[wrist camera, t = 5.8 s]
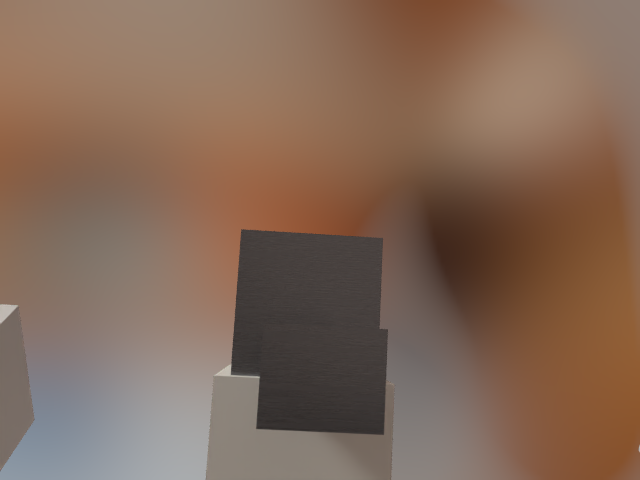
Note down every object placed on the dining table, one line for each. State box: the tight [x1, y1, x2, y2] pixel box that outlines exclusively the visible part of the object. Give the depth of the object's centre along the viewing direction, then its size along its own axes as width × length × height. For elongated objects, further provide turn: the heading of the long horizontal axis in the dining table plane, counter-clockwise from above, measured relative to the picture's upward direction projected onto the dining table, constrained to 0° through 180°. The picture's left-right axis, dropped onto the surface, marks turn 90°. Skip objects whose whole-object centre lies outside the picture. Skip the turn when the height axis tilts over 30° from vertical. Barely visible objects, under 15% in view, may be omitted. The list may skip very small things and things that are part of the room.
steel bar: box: [231, 230, 388, 435], centre depth 18 cm, size 5×16×5 cm, turn 3°
